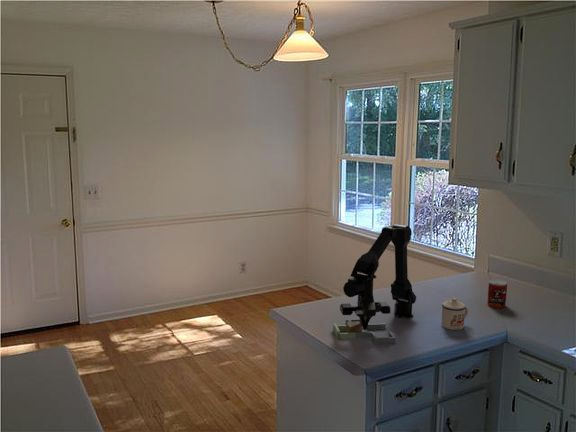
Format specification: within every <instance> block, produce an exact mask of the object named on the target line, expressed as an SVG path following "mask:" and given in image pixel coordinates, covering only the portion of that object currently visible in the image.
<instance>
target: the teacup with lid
mask: <svg viewBox="0 0 576 432" xmlns="http://www.w3.org/2000/svg"><path fill="white" fill-rule="evenodd" d="M441 306H442V307H441V309H442V310H441V326H442V327H443V328H445V329H447V330H451V331H459V330H462V329H464V327H465V319H466V317H467V316H468V314H469V309H468V307H466V304H464V303H463V302H461V301H459V300H457V298H456V297H451V299H449V300H446V301H443V302H442V304H441Z"/></svg>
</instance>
